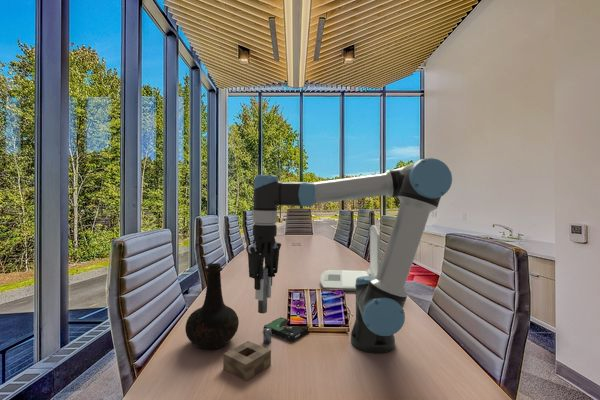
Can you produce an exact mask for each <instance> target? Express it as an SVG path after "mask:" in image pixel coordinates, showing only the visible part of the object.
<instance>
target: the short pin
mask: <svg viewBox="0 0 600 400" xmlns="http://www.w3.org/2000/svg"><path fill="white" fill-rule="evenodd" d="M262 329H263V330H262V331H263V332H262V337H263V339H262V340H263V342H262V343H263V344H265V345H268V344H271V343H272V334H271V328H264V327H263V328H262Z"/></svg>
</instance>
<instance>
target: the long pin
mask: <svg viewBox="0 0 600 400" xmlns="http://www.w3.org/2000/svg"><path fill="white" fill-rule="evenodd" d="M261 279H264V283H263V300H262V301H260V300H257V312H258V313H259V314H266V313H268V298H267V291H268V267H265V266H263V271H262V278H261Z"/></svg>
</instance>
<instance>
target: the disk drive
mask: <svg viewBox="0 0 600 400" xmlns="http://www.w3.org/2000/svg"><path fill="white" fill-rule="evenodd" d="M287 319H288V318H285V317H279V318H276V319H275V320H272V321H270V322H269V323H267V324H264V326H263V329H264V328H271V335H273V336H276V337H278V338H280V339H283V340H286V341H288V342H291V343H294V342H296V341H297V340H299V339H301V338H302V337H304V336H306V335H307V334H309V333H310V330H309V331H308V328H309V329H310V326H309V325H306V327H288V325H287Z"/></svg>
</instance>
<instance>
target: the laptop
mask: <svg viewBox="0 0 600 400" xmlns="http://www.w3.org/2000/svg"><path fill="white" fill-rule="evenodd" d="M380 264H381V234H380V231H379V229H378V227H377V226H376V225H374V224H373V225H372V224H371V225H370V227H369V268H368V269H366V270H362V269H361V270H359V269H358V270H356V269H325V270H324V271H323V272H322V273H321V275H320V279H319V282H320V284H321V286H322V288H324V289H326V290H327V289H344V290H345V291H344V292H356V287H355V284H356V279H357V278H358V277H362V276H377V273H378V270H379V267H380Z"/></svg>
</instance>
